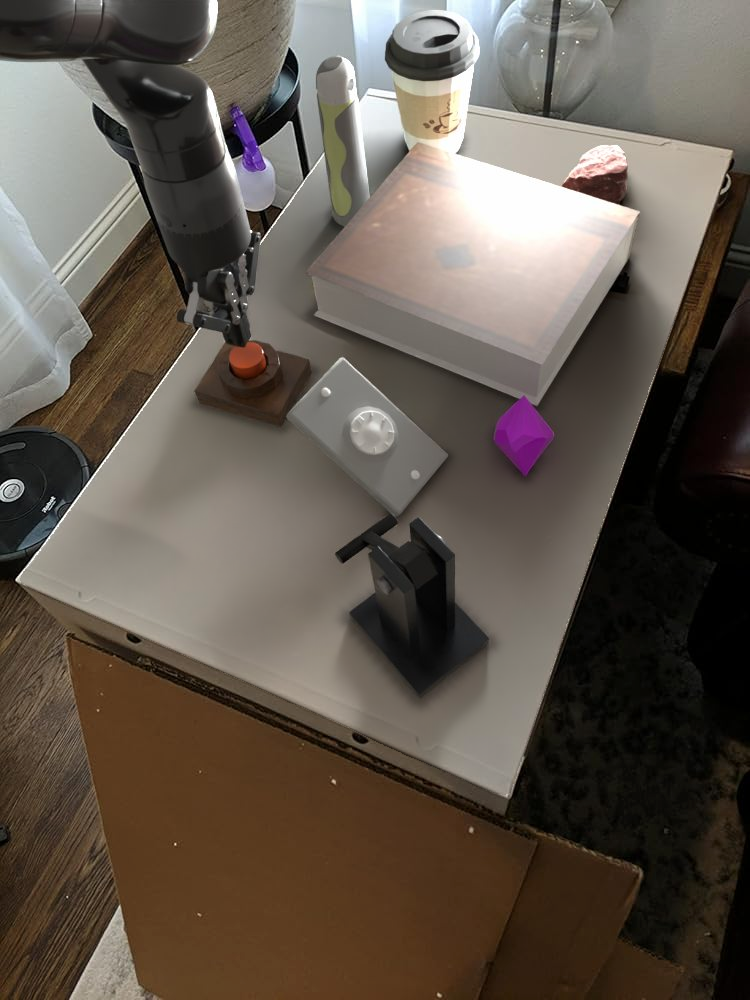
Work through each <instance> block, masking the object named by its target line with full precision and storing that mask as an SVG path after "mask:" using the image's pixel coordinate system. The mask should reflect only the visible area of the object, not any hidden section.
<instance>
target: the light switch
mask: <svg viewBox="0 0 750 1000" xmlns="http://www.w3.org/2000/svg"><path fill="white" fill-rule="evenodd" d="M286 417H287V419H286V420H288V421H289V422H290V423H291V424H292V425H293V426H295V427H296V429H297V430H299V431H300V432H301V433H302V434H303V435H304V436H305V437H306V438H308V439H309V440H310V441H311V442H312V443H313V444H314V445H315V446H317V448H318V449H320V450H321V451H322V452H323V453H324V454H325V455H326V456H328V458H330V459H331V461H333V462H334V463H335V464H336V465H337V466H338V467H339V468H341V469H342V471H344V472H345V473H346V474H347V475H348V476H350V477H351V478H352V480H354V481H355V482H356V483H357V484H358V485H359V486H360V487H362V489H364V491H366V492H367V493H368V494H369V495H370V496H371V497H372V498H373V499H375V500H376V501H377V502H378V503H379V504H380V505H381V506H382V507H383V508H384V509H385V510H387V512H389V513H392V514H393V515H394V516H395V517H398V516H400V515H402V513H403V512H404V510H405V509H407V507H408V505H410V503H411V502H412V501H413V500H414V498H415V497H416V496H418V494H419V492H420V491H421V490H422V489H423V487H425V485H426V484H427V483H428V481H429V480H430V479H431V478H432V477H433V476H434V474H435V473H436V472H437V471H438V469H439V468H440V467H441V466H442V465H443V463H444V462H445V461H446V459H448V456H449V455H448V453H447V452H446V451H445V450H444V449H442V447H441V446H440V445H439V444H438V443H436V442H435V440H433V439H432V438H431V437H430V436H429V435H428V434H427V433H426V432H425V431H423V430H422V429H421V428H420V427H419V426H418V425H417V424H416V423H415V422H414V421H413V420H411V418H409V416H407V414H405V413H404V412H403V411H402V410H401V409H400V408H398V406H396V405H395V404H394V403H393V402H392V401H391V400H390V399H389V398H388V397H387V396H385V395H384V393H382V392H381V391H380V390H379V389H378V388H377V387H376V386H375V385H374V384H373V383H371V381H369V379H368V378H367V377H365V376H364V375H363V374H362V373H361V372H360V371H359V370H358V369H357V368H356V367H354V366H353V365H352V364H351V363H350V362H349V361H348V360H347V359H346V358H345V357H343V356H342V357H340V358H338V360H337V361H336V362H335V363H334V364H333V365H332V366H331V367H329V369H328V370H327V371H326V372H325V373H324V374H323V375H322V377H320V378H319V380H318V381H317V382H315V383H314V385H313V386H312V387H311V388H310V389H309V390H308V391H307V392H306V393H305V394H304V395H303V396H302V397H301V398H300V399H299V401H297V402H296V403H295V404H294V406H293V408H292V409H291V410H290V411H289V412H288V414H287V416H286Z"/></svg>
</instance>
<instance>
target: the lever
mask: <svg viewBox="0 0 750 1000" xmlns="http://www.w3.org/2000/svg"><path fill="white" fill-rule="evenodd" d="M398 525H399V521H398V519H397V517H396V516H394V515H393V514H392V513H390V512H389V513H388V514H386V515H385V516H384V517H382V518H381V519H379V520H378V521H377V522H375V523H374V524H372V525H371V526H370V527H368V528H367V529H366V530H364V531H362V532H361V533H360V534H358V535H357V536H356V537H354V538H353V539H352V540H350V541H349V542H347V543H346V544H345V545H344V546H342V547H340V548H339V549H338V550H336V551H335V552H334V556H335V558H336V559H337V561H338V562H339V563H340V564H341V565H344V564H345V563H347V562H348V561H350V560H351V559H353V558H354V557H356V555H358V554H359V553H360V552H362V551H363V550H365V549H368V550H370V551H372V550H373V549H375V548H376V547H377V546H378V547H379V548H380V549H381V550H382V551H383V552H384V553H385V554H386V555H387V556H388V557H389V559H390V560H391V561H392V562H393V563H394V564H395V565H396V566H397V567H398V568H399V569H400V570H401V572H402V573H403V574H404V575H405V576H406V577H407V578H408V579H409V580H410V581H411V582H412V584H413V585H414V586H415V589H416V590H417V589H418V588H420V587H421V586H422V585H424V584H425V583H426V582H428V581H429V580H430V579H432V578H433V577H434V576H436V575H437V574H438V572H437V570H436V568H435V566H434V564H433V562H432V560H431V558H430V556H429V554H428V552H427V550H426V549H424V548H422V547H420V546H418V545H416V544H414V543H412V542H411V541H410V540H407V541H406V542H404V543H402V545H400V546H398V545H396V544H394V543H392V542H391V541H389V540H387V539H385V538H384V537H383V536H384V535H386V534H387V533H388V532H389V531H391V530H392V529H394V528H395V527H396V526H398Z"/></svg>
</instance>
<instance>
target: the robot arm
mask: <svg viewBox="0 0 750 1000" xmlns="http://www.w3.org/2000/svg"><path fill="white" fill-rule="evenodd" d="M218 12H219V11H218V0H0V61H1V62H13V63H58V62H59V63H61V62H65V63H66V62H75V61H80V60H81V61H82V63H83V64H84V66H85V67H86V68H87V71H89V73H90V74H91V76H92V77H93V79H94V80H95V82H96V83H97V85H98V86H99V88H100V89H101V90H102V92H103V94H104V95H105V97H106V98H107V99H108V101H109V102H110V104H111V106H113V108H114V109H115V110H116V112H117V113H118V115H119V116H120V117H121V119H122V120H123V122H124V124H125V126H126V129H127V131H128V136H129V138H130V141H131V143H132V146H133V149H134V152H135V155H136V158H137V160H138V163H139V166H140V169H141V173H142V178H143V183H144V188H145V191H146V194H147V198H148V201H149V203H150V206H151V209H152V211H153V214H154V217H155V219H156V223H157V225H158V228H159V231H160V233H161V236H162V239H163V242H164V244H165V247H166V250H167V252H168V255H169V256H170V258H171V259H172V260H173V261H174V263H175V264H176V265H177V266H178V267H179V268H180V269H181V271H182V272H183V276H184V277H183V278H184V289H185V291H186V292H187V293H188V295H189V297H188V301H187V306H186V309H183V308H180V309H178V310H177V314H176V320H177V322H178V323H182V324H184V325H188V326H192V327H197V328H201V329H205V330H207V331H208V330H209V331H213V332H218V333H221V334H222V337H223V341H224V343H225V342H226V343H227V344H229V345H233V346H237V347H242V348H244V347H245V346H246V345H247V343H248V341H251V339H252V337H253V336H252V332H251V324H250V321H249V317H248V314H247V311H248V309H249V300H248V296H253V295H254V294H255V290H256V283H257V274H258V265H259V257H260V248H261V241H262V240H261V239H262V236H261V233H260V232H256V231H253V230H251V227H250V223H249V219H248V214H247V211H246V206H245V202H244V198H243V194H242V190H241V186H240V183H239V178H238V174H237V171H236V167H235V164H234V161H233V159H232V157H231V154H230V152H229V149H228V146H227V144H226V139H225V136H224V132H223V127H222V124H221V120H220V116H219V111H218V107H217V104H216V99H215V96H214V93H213V91H212V90H211V87H210V85H209V84H208V82H207V81H206V80H205V79H204V78H203V77H201V76H200V75H199V74H197V73H196V72H194V71H192V70H190V69H188V68H185V67H183V66H181V65H184V64H187V63H191V61H193V60H195V59H197V57H199V56H200V55H201V54H202V53H203V52H204V51H205V50H206V48H207V47H208V45H209V44H210V42H211V40H212V38H213V36H214V34H215V31H216V27H217V22H218Z"/></svg>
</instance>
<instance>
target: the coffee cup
mask: <svg viewBox="0 0 750 1000" xmlns="http://www.w3.org/2000/svg"><path fill="white" fill-rule="evenodd" d="M480 53H481V52H480V44H479V37H478V36H477V35H476V32H475V31H474V30H473V29H472V26H471V25H470V23H469V22H468V20H467V19H466V18H464V17H463V16H462V15H460V14H458V13H455V12H452V11H450V10H442V9H428V10H427V9H426V10H422V11H417V12H414V13H412V14H410V15H406V16H405V17H404V18H403V19H401V20H400V21H399V22H397V23H396V24H395V25H394V28H393V29H392V32H391V34H390V36H389V37H388V39H387V41H386V42H385V51H384V61H385V64H386V65H387V67H388V69H390V72H391V77H392V82H393V87H394V92H395V97H396V102H397V106H398V112H399V113H398V114H399V118H400V122H401V128H402V132H403V138H404V143H405V144H406V146H407V149H408V152H409V151H410V150H411V149H412V148H413V147H414V145H415V144H416V143H417V142H419V143H422V144H425V145H428V146H432V147H435V148H438V149H441V150H444V151H448V152H451V153H454V154H457V152H458V151H459V149H460V147H461V144H462V142H463V140H464V133H465V127H466V120H467V113H468V106H469V100H470V92H471V87H472V81H473V80H472V79H473V73H474V68H475V67H474V65H475V64H476V63H477V61H478V59H479V57H480V56H481V55H480Z"/></svg>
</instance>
